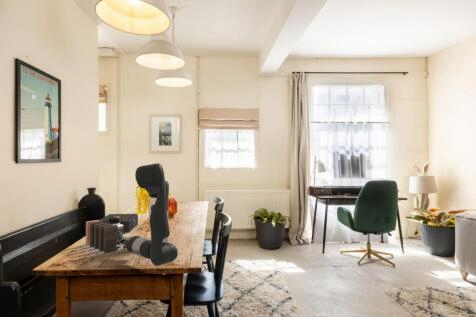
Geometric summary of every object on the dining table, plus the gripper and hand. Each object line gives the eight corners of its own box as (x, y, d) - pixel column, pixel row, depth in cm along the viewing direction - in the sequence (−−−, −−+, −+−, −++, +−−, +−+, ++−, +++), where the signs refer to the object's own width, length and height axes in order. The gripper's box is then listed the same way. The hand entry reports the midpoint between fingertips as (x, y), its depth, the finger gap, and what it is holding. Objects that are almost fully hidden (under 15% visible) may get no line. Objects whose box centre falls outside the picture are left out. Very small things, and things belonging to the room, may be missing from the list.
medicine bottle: (116, 240, 166) (116, 218, 166) (104, 239, 168) (104, 217, 168) (123, 236, 173) (123, 216, 173) (112, 236, 175) (112, 215, 175)
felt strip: (122, 251, 146) (122, 250, 146) (102, 256, 138) (102, 255, 138) (99, 242, 162) (99, 241, 162) (80, 246, 154) (80, 245, 154)
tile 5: (99, 243, 158) (99, 220, 158) (87, 245, 153) (87, 222, 153) (97, 242, 159) (97, 220, 159) (85, 245, 154) (85, 221, 154)
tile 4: (103, 245, 155) (103, 221, 155) (91, 247, 150) (91, 223, 150) (101, 244, 156) (101, 221, 156) (89, 246, 151) (89, 223, 151)
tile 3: (107, 246, 152) (107, 223, 152) (95, 249, 147) (96, 224, 147) (106, 246, 153) (106, 222, 153) (94, 248, 148) (94, 224, 148)
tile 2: (112, 248, 149) (112, 224, 149) (100, 251, 144) (100, 226, 144) (110, 247, 150) (110, 223, 150) (98, 250, 145) (98, 225, 145)
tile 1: (117, 250, 145) (117, 225, 145) (105, 253, 141) (105, 227, 141) (115, 249, 147) (115, 225, 147) (103, 252, 142) (103, 227, 142)
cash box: (130, 233, 183) (130, 220, 183) (95, 234, 181) (95, 221, 181) (139, 224, 208) (139, 213, 208) (108, 225, 205) (108, 213, 205)
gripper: (153, 234, 132) (132, 228, 144) (126, 240, 122) (105, 233, 133) (153, 251, 132) (132, 244, 144) (126, 259, 122) (105, 250, 133)
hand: (119, 239), depth 138 cm, fingers closed
